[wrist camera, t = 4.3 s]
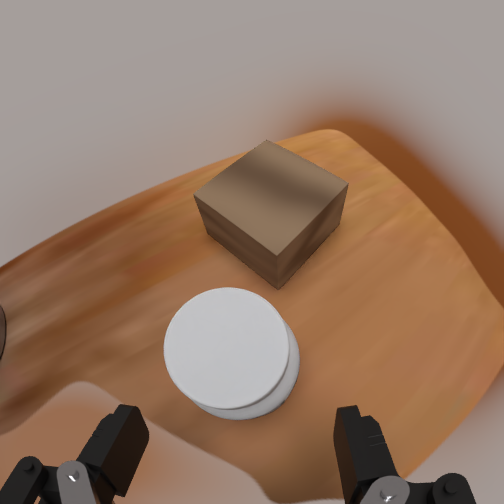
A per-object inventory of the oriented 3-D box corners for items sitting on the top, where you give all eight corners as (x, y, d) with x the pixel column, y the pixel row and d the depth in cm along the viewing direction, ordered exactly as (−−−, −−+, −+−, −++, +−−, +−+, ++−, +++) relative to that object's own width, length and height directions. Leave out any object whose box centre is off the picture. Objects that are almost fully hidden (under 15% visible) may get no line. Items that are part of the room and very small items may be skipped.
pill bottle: (237, 323, 21) (204, 251, 12) (308, 359, 19) (332, 311, 10) (195, 390, 18) (125, 365, 10) (267, 431, 16) (254, 451, 8)
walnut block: (278, 290, 22) (277, 255, 17) (207, 233, 25) (193, 193, 21) (339, 224, 24) (348, 183, 20) (269, 180, 27) (266, 139, 23)
